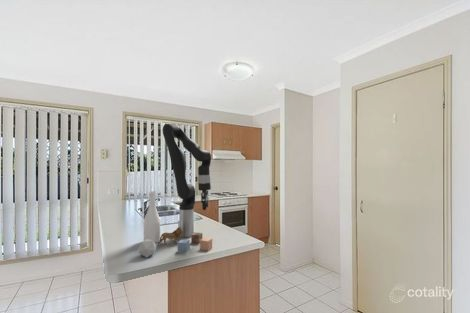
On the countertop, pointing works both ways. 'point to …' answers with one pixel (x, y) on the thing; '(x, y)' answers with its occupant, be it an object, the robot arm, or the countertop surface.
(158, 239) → the wine bottle
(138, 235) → the countertop surface
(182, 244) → the slate blue cube
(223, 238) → the countertop surface
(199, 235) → the walnut cube
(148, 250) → the grey rounded lump
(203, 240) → the terracotta cube
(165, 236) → the lion figurine
